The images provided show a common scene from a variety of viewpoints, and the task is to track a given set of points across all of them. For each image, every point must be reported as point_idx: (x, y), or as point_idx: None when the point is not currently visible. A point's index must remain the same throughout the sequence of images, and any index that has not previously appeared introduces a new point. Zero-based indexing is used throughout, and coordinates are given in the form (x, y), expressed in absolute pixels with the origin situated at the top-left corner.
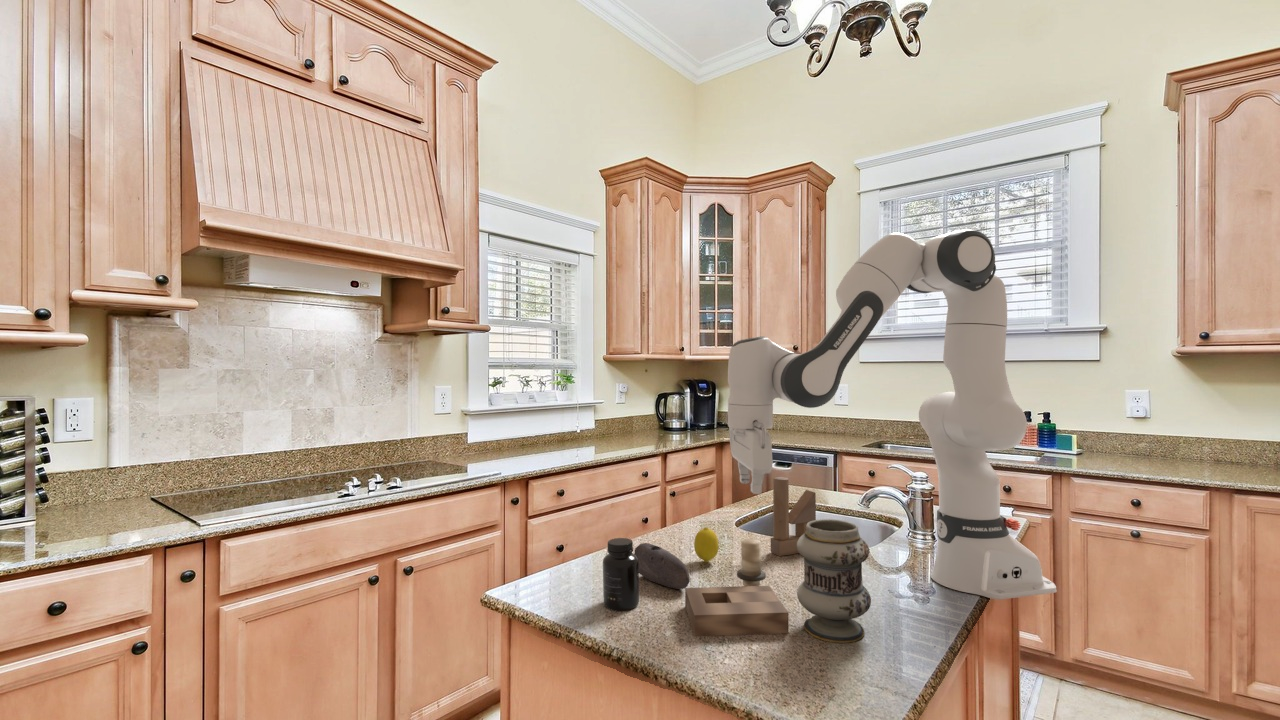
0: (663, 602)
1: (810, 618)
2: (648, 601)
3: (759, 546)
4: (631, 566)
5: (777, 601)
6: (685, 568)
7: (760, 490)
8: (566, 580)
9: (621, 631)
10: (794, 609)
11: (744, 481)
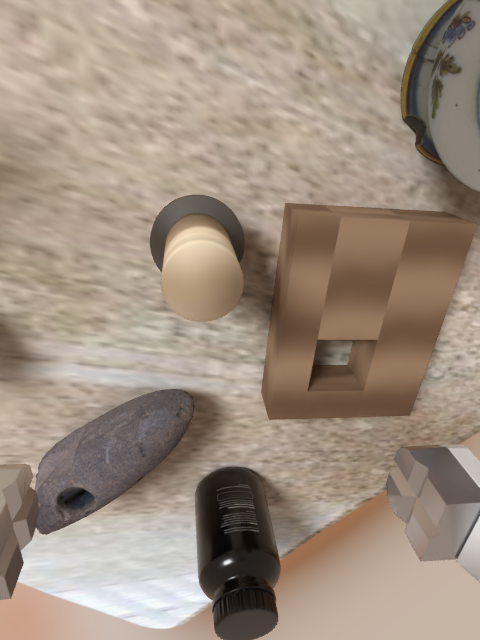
0: (231, 426)
1: (427, 133)
2: (222, 450)
3: (232, 254)
4: (275, 554)
5: (409, 229)
6: (181, 424)
7: (472, 465)
8: (100, 567)
9: (336, 483)
10: (331, 141)
11: (27, 511)
